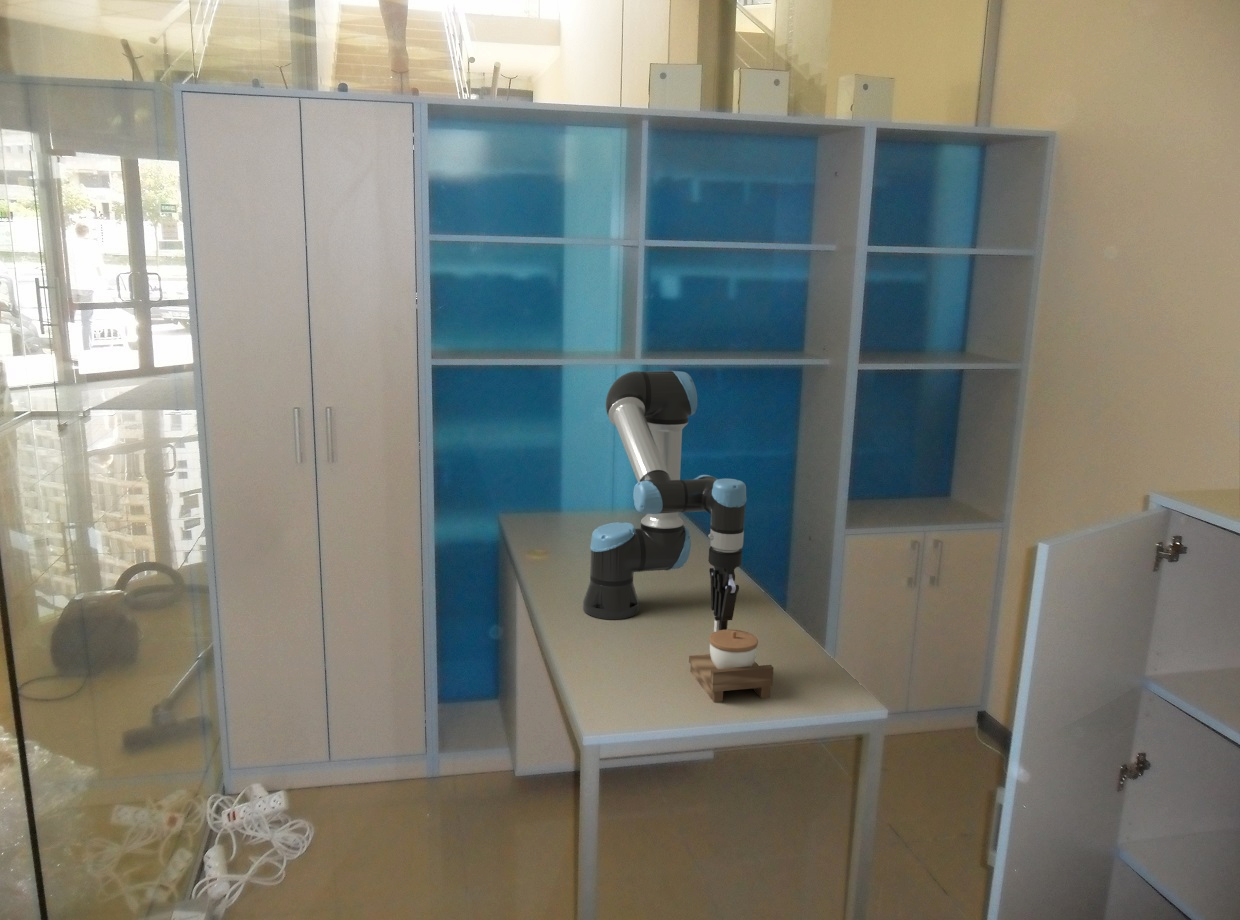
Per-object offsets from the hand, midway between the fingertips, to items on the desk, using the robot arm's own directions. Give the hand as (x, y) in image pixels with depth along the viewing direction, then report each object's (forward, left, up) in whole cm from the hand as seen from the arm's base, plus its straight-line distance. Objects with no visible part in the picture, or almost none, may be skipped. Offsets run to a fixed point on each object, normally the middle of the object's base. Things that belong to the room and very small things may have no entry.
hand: (719, 644), depth 227 cm
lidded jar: (+9, 0, -3) cm, 9 cm away
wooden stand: (+7, 0, -7) cm, 10 cm away
